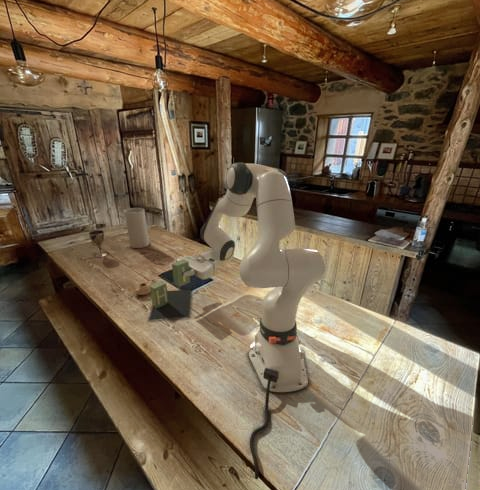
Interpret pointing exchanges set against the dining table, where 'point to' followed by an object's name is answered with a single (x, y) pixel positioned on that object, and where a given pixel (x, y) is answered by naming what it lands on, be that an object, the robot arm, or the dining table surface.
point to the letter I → (180, 272)
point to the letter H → (159, 294)
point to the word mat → (173, 306)
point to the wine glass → (98, 241)
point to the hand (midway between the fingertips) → (179, 272)
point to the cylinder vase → (136, 227)
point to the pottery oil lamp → (144, 287)
